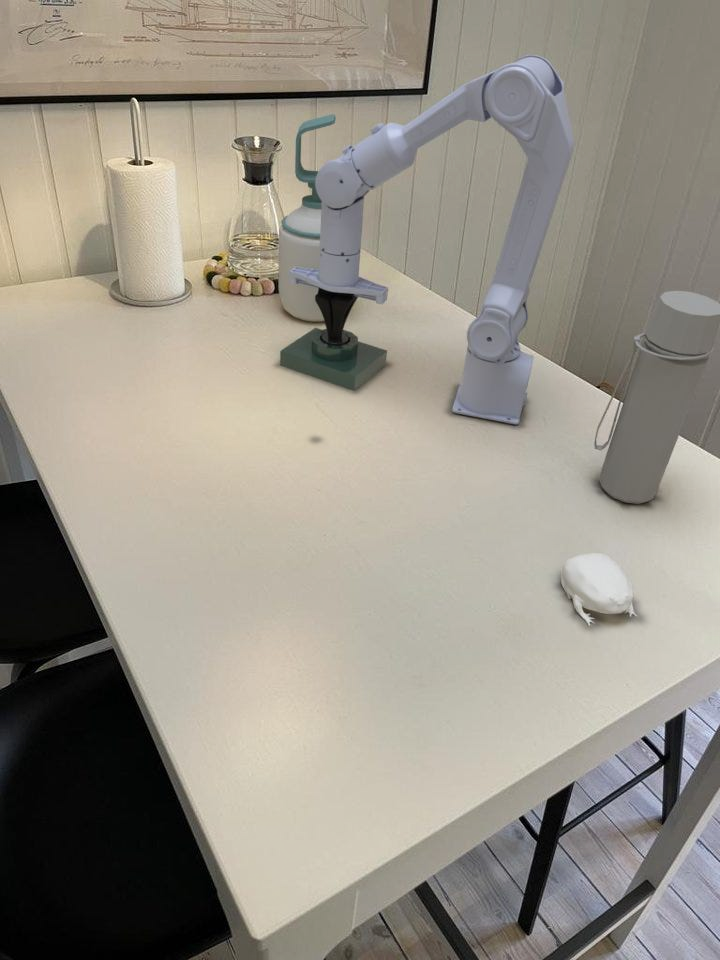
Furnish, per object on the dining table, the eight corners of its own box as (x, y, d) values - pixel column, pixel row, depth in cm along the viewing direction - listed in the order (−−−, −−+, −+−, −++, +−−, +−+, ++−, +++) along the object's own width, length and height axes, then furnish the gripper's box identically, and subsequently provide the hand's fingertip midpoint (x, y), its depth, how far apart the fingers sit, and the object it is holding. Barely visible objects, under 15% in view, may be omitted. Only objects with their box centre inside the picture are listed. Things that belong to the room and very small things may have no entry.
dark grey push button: (352, 348, 115) (353, 336, 113) (339, 358, 112) (339, 346, 111) (329, 341, 116) (330, 329, 115) (316, 350, 113) (316, 338, 112)
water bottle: (656, 479, 97) (726, 296, 82) (655, 514, 91) (730, 324, 76) (584, 462, 99) (640, 280, 84) (578, 495, 93) (637, 306, 78)
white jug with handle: (348, 329, 126) (362, 128, 107) (274, 324, 125) (275, 121, 107) (350, 299, 136) (363, 110, 117) (281, 294, 135) (283, 104, 117)
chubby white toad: (644, 619, 77) (655, 592, 75) (586, 630, 75) (596, 603, 73) (603, 566, 83) (612, 540, 81) (548, 575, 81) (556, 549, 79)
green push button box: (385, 364, 117) (388, 338, 114) (354, 391, 110) (356, 363, 107) (314, 341, 121) (315, 315, 119) (279, 365, 114) (280, 338, 112)
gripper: (398, 250, 106) (389, 337, 114) (304, 230, 109) (302, 317, 118) (381, 266, 100) (373, 357, 109) (283, 245, 104) (282, 334, 112)
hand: (334, 337), depth 113 cm, fingers closed, pressing on dark grey push button
